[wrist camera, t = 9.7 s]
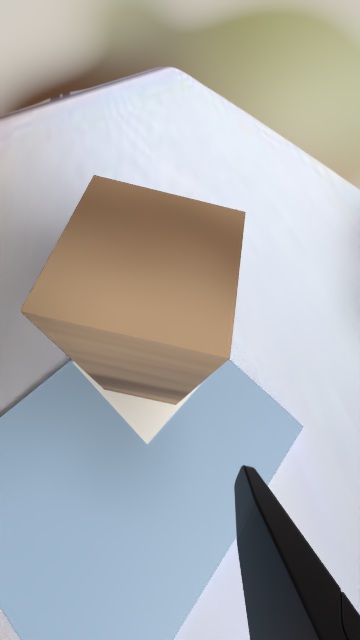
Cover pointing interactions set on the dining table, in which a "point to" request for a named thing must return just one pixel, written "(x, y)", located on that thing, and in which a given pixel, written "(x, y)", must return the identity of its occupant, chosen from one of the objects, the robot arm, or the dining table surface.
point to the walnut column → (142, 289)
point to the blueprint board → (124, 501)
